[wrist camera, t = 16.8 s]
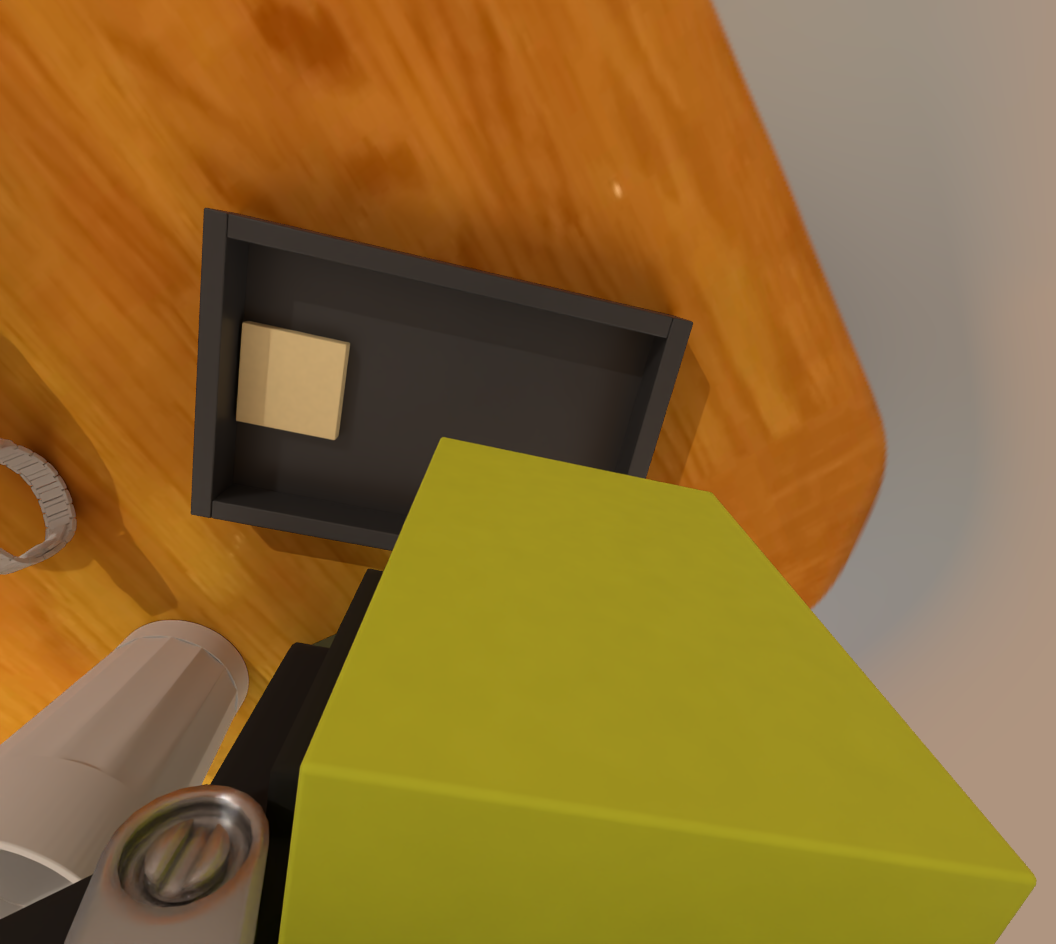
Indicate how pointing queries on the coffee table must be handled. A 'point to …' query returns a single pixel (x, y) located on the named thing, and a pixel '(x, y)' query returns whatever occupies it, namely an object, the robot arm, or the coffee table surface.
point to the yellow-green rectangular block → (617, 742)
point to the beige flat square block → (291, 380)
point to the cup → (111, 752)
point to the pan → (411, 377)
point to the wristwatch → (56, 510)
